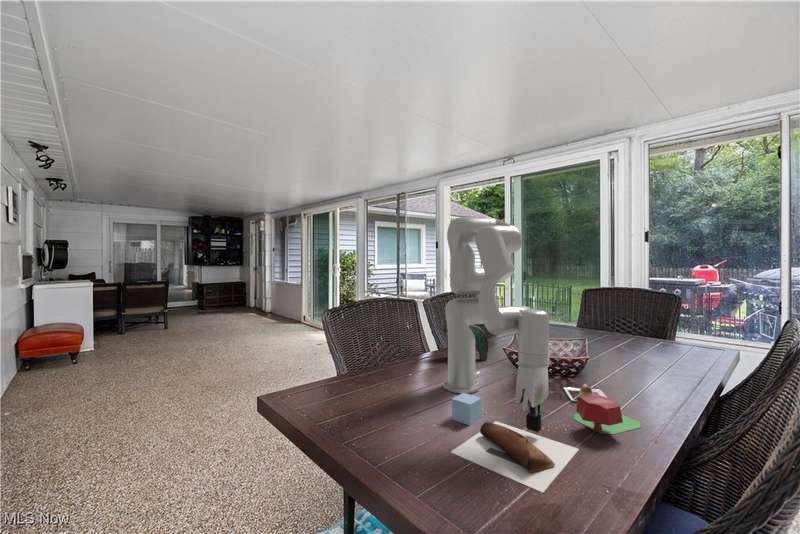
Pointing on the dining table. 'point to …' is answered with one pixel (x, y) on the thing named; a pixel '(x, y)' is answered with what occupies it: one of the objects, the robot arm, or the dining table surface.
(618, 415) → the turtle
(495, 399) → the dining table surface
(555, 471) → the letter mat
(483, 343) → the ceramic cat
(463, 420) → the blue cube
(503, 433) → the sunglasses case
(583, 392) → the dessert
